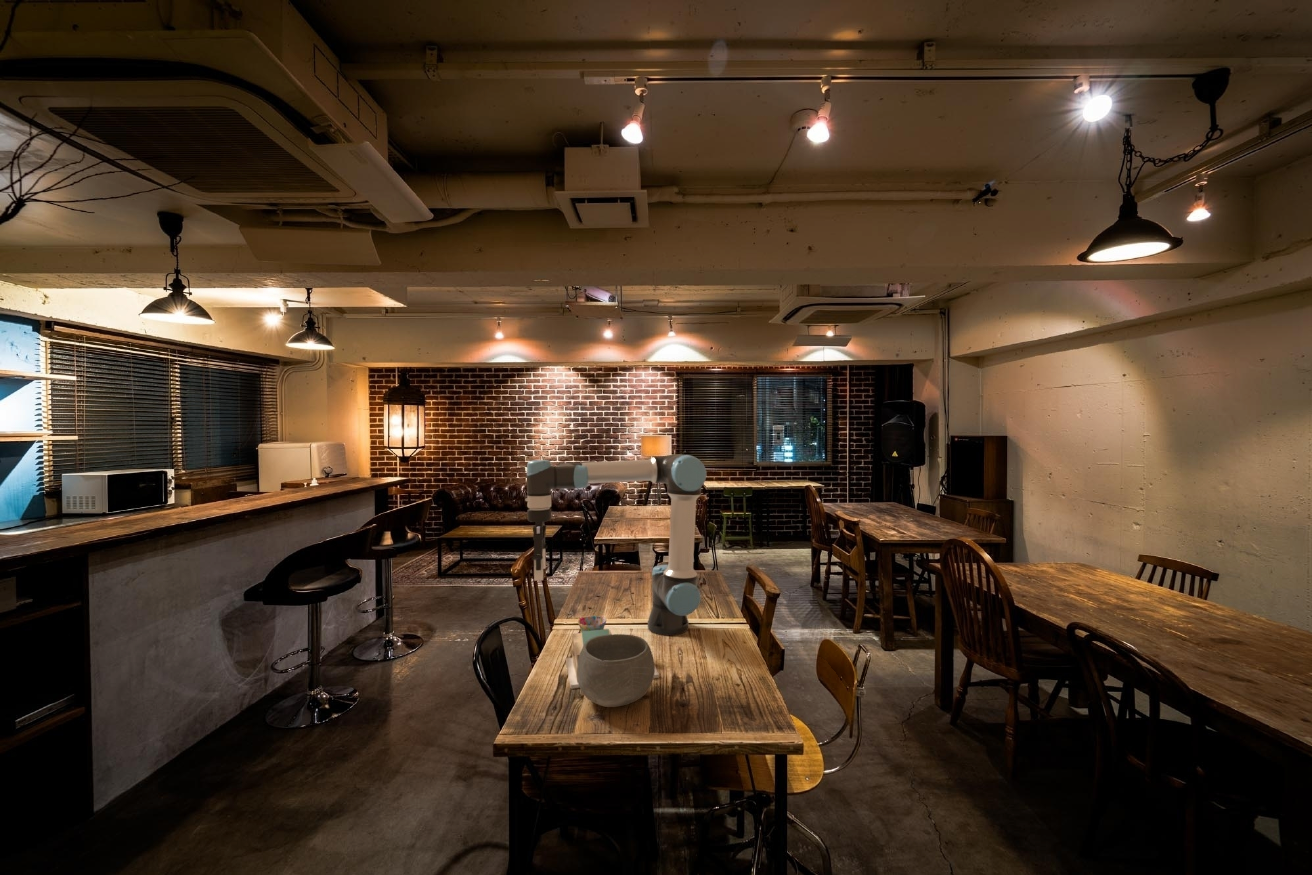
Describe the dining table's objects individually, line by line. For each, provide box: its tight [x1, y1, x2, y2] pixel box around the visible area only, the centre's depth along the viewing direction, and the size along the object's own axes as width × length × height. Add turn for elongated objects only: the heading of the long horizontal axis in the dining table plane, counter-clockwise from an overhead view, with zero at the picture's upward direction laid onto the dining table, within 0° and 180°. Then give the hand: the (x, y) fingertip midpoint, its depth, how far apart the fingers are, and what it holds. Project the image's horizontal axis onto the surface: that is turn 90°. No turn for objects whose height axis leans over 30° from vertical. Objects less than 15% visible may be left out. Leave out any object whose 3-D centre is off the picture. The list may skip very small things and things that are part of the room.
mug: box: [577, 615, 607, 633], centre depth 172 cm, size 12×9×11 cm
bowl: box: [577, 633, 656, 708], centre depth 141 cm, size 21×21×15 cm
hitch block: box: [565, 629, 660, 689], centre depth 159 cm, size 26×18×9 cm
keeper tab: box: [582, 628, 610, 646], centre depth 153 cm, size 8×6×1 cm
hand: (540, 574), depth 167 cm, fingers open, 13 cm apart
